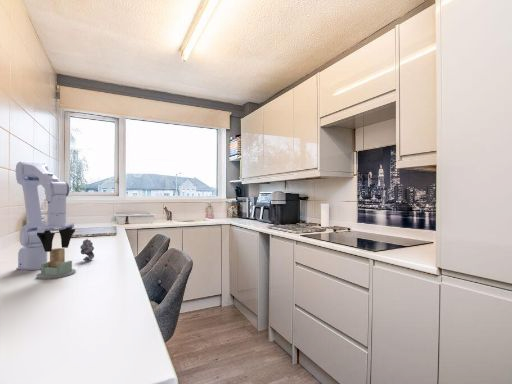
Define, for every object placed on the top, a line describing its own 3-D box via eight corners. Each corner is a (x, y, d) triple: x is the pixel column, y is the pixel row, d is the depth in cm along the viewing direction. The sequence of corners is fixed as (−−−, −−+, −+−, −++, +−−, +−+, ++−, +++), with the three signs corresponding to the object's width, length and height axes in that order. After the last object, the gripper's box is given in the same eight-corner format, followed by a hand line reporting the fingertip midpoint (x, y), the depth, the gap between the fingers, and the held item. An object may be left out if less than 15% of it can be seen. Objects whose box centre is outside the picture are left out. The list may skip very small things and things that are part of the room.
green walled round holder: (27, 278, 101) (27, 265, 101) (56, 269, 113) (56, 258, 113) (57, 279, 99) (57, 266, 99) (83, 270, 111) (83, 259, 111)
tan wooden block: (49, 273, 105) (49, 249, 105) (55, 271, 107) (55, 248, 107) (59, 273, 104) (59, 249, 104) (64, 272, 107) (64, 248, 107)
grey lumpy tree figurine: (89, 262, 126) (89, 239, 126) (78, 262, 126) (78, 239, 126) (96, 259, 131) (96, 237, 131) (85, 259, 131) (85, 237, 131)
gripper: (49, 214, 98) (49, 253, 98) (81, 212, 113) (80, 246, 113) (32, 214, 99) (31, 253, 99) (65, 212, 114) (65, 245, 114)
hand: (56, 249), depth 106 cm, fingers open, 7 cm apart
